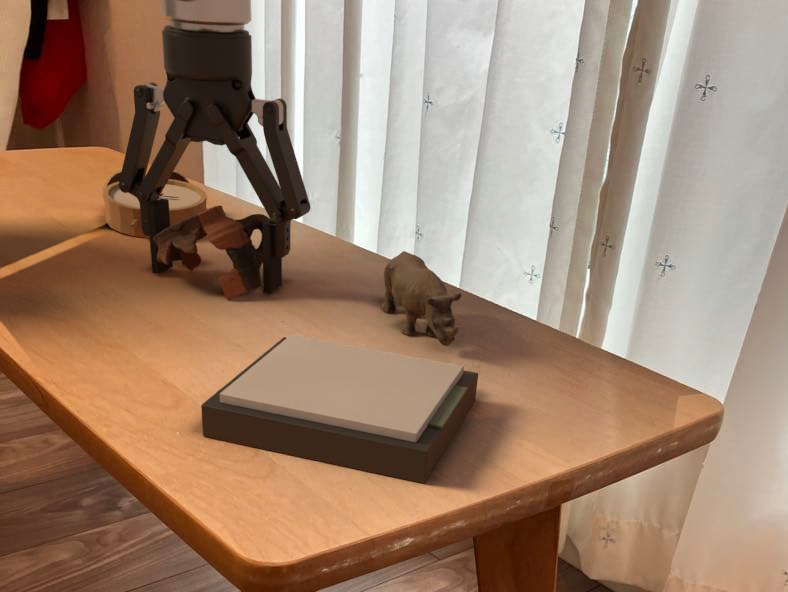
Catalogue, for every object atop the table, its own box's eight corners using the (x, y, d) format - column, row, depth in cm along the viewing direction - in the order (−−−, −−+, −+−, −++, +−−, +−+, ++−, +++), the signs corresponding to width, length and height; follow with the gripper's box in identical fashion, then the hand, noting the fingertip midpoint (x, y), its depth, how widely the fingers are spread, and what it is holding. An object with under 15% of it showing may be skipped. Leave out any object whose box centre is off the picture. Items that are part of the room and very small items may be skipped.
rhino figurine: (428, 365, 79) (434, 294, 75) (372, 308, 89) (376, 244, 86) (473, 361, 80) (481, 291, 77) (413, 306, 91) (418, 242, 87)
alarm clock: (112, 213, 99) (89, 156, 109) (115, 257, 103) (93, 198, 112) (218, 210, 103) (187, 155, 113) (217, 252, 107) (187, 195, 116)
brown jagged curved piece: (206, 313, 86) (162, 227, 84) (173, 326, 94) (131, 248, 92) (310, 262, 91) (271, 178, 89) (270, 278, 99) (233, 202, 97)
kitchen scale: (202, 436, 65) (200, 395, 63) (283, 364, 76) (283, 328, 75) (424, 483, 62) (428, 441, 60) (475, 401, 73) (479, 364, 71)
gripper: (59, 14, 80) (89, 270, 92) (319, 43, 75) (314, 310, 87) (108, 9, 86) (130, 251, 98) (351, 36, 81) (343, 287, 93)
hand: (216, 279), depth 92 cm, fingers open, 11 cm apart
